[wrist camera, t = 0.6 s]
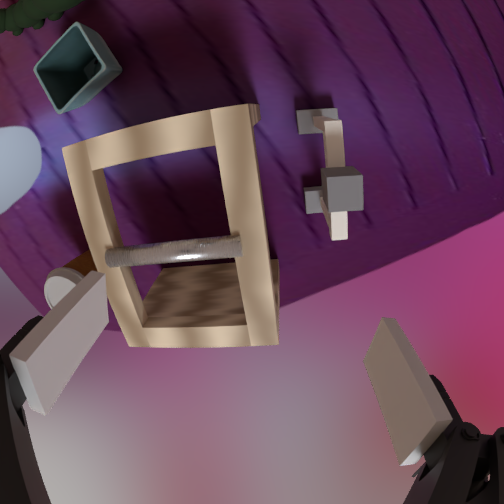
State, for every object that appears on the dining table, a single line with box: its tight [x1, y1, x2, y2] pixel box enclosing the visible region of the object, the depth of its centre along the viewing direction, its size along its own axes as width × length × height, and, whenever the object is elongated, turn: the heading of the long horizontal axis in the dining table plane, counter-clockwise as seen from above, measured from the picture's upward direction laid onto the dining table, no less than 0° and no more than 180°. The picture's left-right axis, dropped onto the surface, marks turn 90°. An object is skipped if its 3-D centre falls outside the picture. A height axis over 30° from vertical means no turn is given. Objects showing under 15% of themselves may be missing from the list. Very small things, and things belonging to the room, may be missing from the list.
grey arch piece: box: [296, 108, 363, 240], centre depth 32 cm, size 5×13×16 cm, turn 8°
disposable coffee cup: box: [44, 249, 98, 309], centre depth 44 cm, size 10×10×12 cm
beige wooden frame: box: [62, 104, 279, 348], centre depth 36 cm, size 18×24×17 cm
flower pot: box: [34, 22, 122, 114], centre depth 31 cm, size 9×9×9 cm
